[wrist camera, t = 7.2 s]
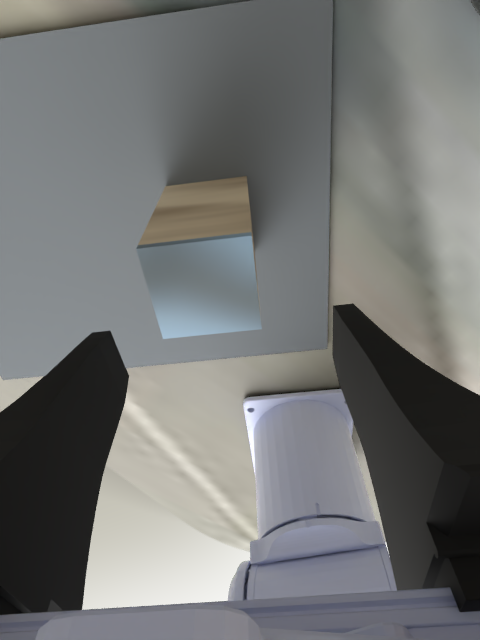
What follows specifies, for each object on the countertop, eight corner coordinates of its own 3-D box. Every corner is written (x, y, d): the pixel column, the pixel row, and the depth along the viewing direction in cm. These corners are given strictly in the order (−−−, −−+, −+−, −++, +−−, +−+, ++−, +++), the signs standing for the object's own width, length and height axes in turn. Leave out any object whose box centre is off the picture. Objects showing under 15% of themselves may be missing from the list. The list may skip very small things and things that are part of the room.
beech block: (254, 251, 21) (261, 329, 16) (182, 259, 21) (163, 339, 16) (246, 176, 19) (251, 235, 13) (165, 186, 19) (136, 249, 13)
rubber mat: (326, 344, 26) (327, 348, 25) (5, 375, 27) (2, 380, 27) (331, -12, 15) (333, -13, 15) (-194, 68, 16) (-203, 69, 16)
